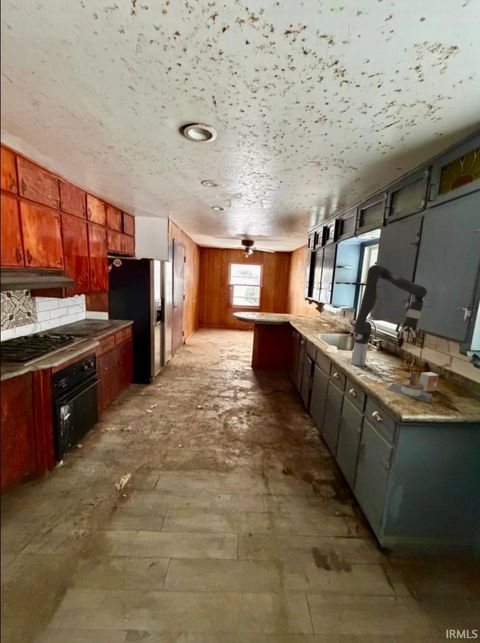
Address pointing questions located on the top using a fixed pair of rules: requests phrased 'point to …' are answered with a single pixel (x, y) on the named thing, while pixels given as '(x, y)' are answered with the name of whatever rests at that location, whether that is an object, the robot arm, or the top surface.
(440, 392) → the top surface
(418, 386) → the lid
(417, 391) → the bowl
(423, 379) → the small box
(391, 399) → the top surface
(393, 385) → the mat
